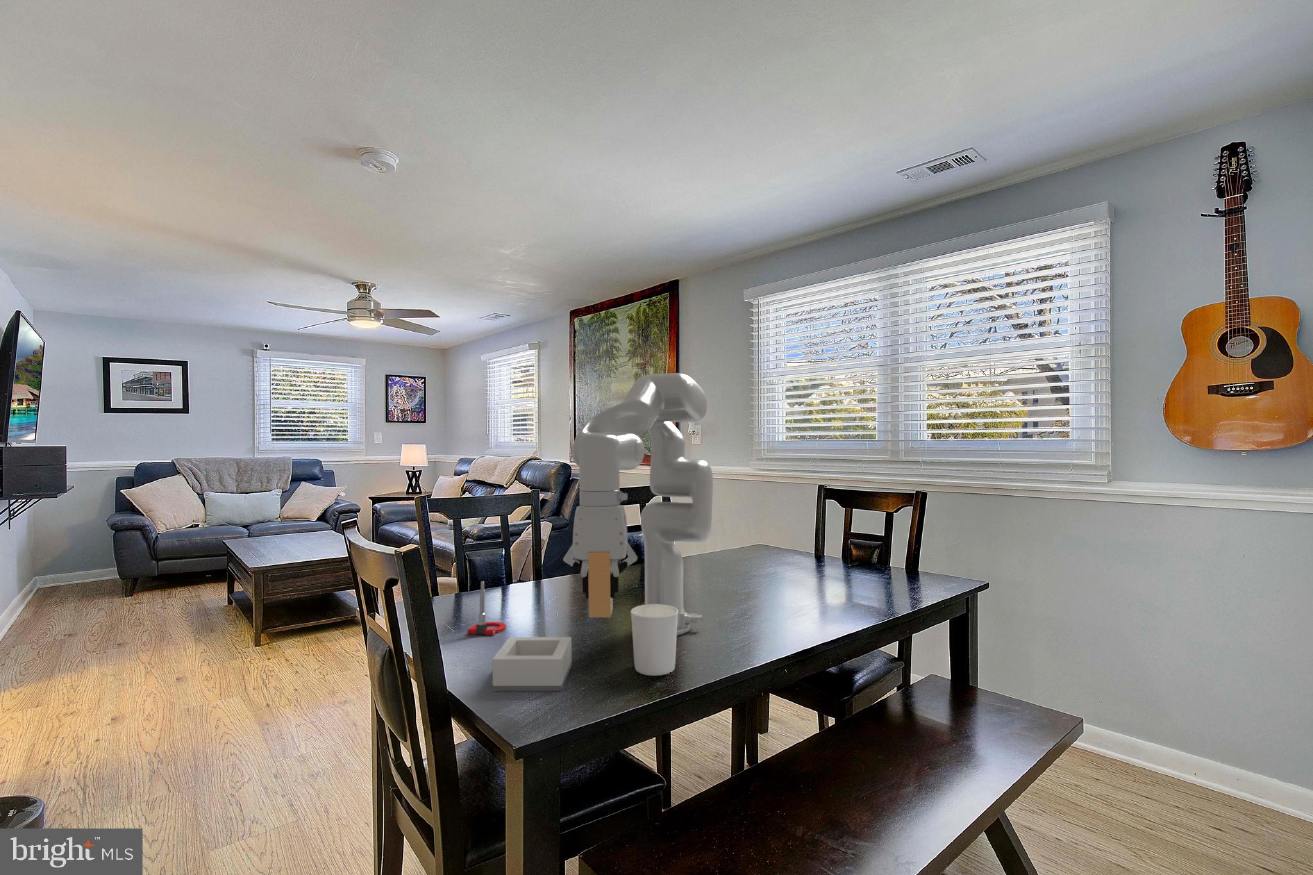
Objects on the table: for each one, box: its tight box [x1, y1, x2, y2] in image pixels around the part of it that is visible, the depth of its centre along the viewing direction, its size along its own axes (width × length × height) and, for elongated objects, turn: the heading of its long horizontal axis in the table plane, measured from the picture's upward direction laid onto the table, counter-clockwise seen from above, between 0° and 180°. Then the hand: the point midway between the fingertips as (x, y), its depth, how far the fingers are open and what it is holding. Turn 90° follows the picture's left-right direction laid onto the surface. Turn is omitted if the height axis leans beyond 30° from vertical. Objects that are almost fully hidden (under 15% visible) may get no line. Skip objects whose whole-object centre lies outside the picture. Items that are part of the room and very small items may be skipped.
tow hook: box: [467, 581, 507, 637], centre depth 155 cm, size 8×13×9 cm
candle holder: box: [630, 604, 678, 677], centre depth 129 cm, size 10×10×12 cm
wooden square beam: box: [588, 552, 614, 618], centre depth 117 cm, size 4×5×12 cm
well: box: [492, 636, 572, 692], centre depth 124 cm, size 13×13×6 cm
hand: (600, 595), depth 117 cm, fingers closed on wooden square beam, 4 cm apart
